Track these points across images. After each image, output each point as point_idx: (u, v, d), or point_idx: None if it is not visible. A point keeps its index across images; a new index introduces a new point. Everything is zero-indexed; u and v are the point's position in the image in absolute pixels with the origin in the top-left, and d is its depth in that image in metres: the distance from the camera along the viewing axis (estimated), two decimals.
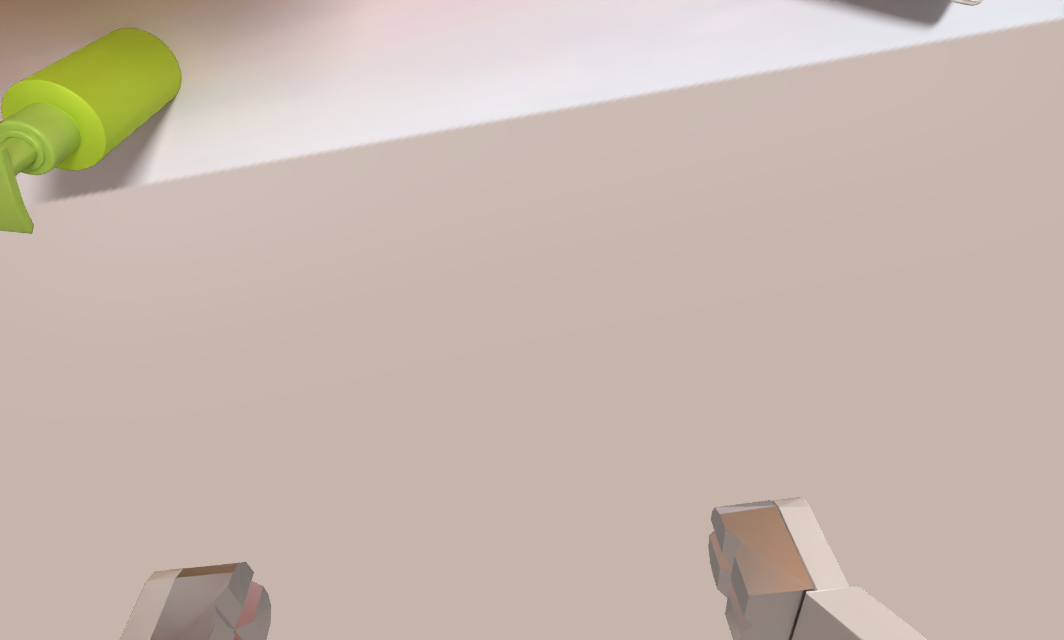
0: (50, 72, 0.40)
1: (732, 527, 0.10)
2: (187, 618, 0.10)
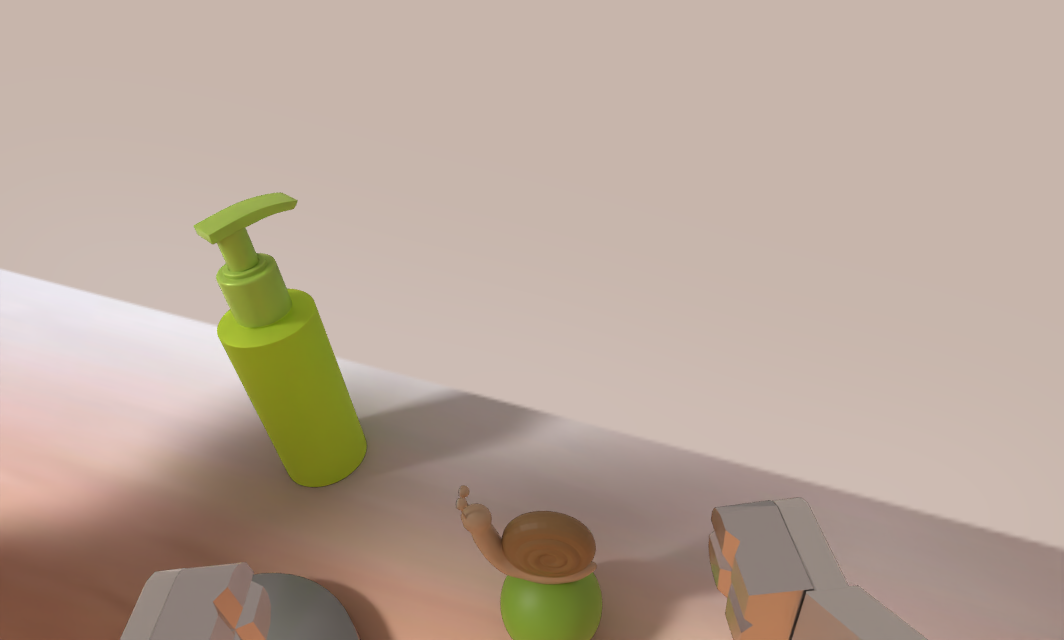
0: (234, 362, 0.39)
1: (732, 527, 0.10)
2: (187, 618, 0.10)
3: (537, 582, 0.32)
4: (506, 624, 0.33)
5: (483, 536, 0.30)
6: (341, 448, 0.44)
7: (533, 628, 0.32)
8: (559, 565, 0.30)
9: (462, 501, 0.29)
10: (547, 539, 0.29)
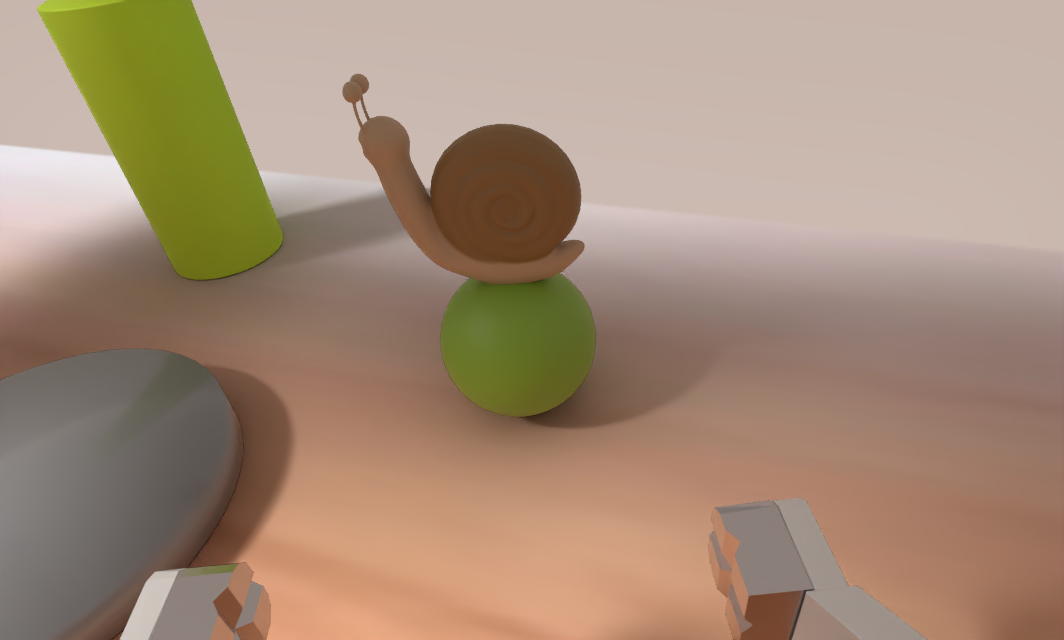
0: (62, 50, 0.27)
1: (732, 527, 0.10)
2: (187, 618, 0.10)
3: (492, 278, 0.20)
4: (447, 360, 0.21)
5: (396, 172, 0.18)
6: (239, 219, 0.32)
7: (487, 346, 0.20)
8: (523, 222, 0.19)
9: (353, 83, 0.17)
10: (499, 160, 0.18)
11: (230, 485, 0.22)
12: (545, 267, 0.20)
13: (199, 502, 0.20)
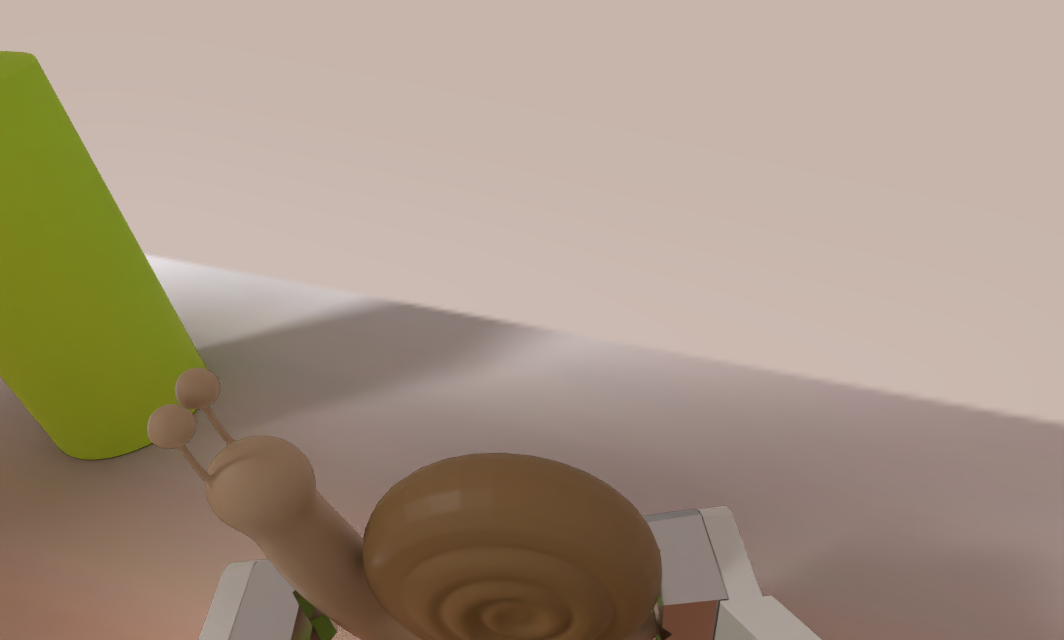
0: None
1: (654, 536, 0.10)
2: (268, 609, 0.10)
3: None
4: None
5: (288, 545, 0.09)
6: (136, 382, 0.23)
7: None
8: (547, 633, 0.09)
9: (169, 415, 0.08)
10: (498, 548, 0.08)
11: None
12: None
13: None
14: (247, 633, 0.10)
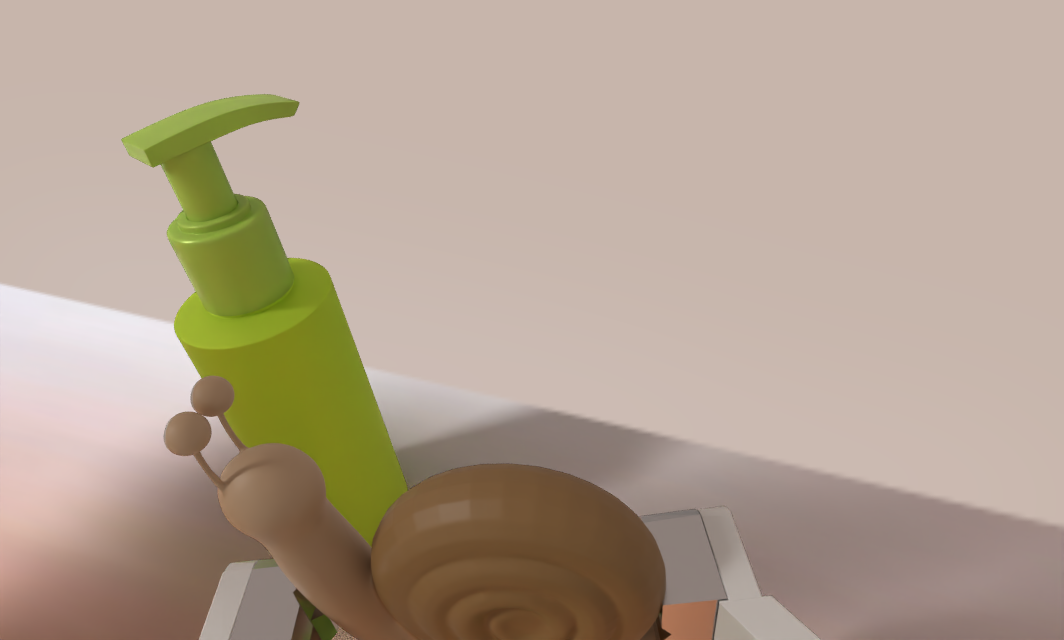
0: (202, 373, 0.24)
1: (654, 536, 0.10)
2: (268, 609, 0.10)
3: None
4: None
5: (298, 551, 0.09)
6: (374, 500, 0.29)
7: None
8: None
9: (186, 424, 0.08)
10: (506, 558, 0.08)
11: None
12: None
13: None
14: (248, 633, 0.10)
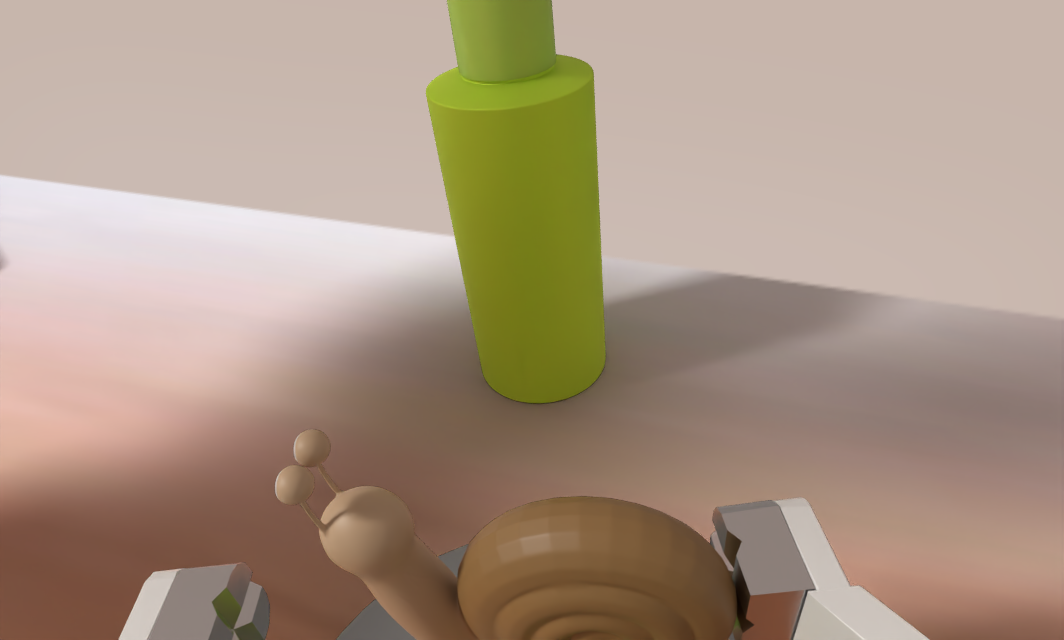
0: (461, 152, 0.22)
1: (733, 527, 0.10)
2: (186, 618, 0.10)
3: None
4: None
5: (393, 584, 0.10)
6: (592, 335, 0.27)
7: None
8: None
9: (293, 477, 0.09)
10: (586, 586, 0.09)
11: None
12: None
13: None
14: None
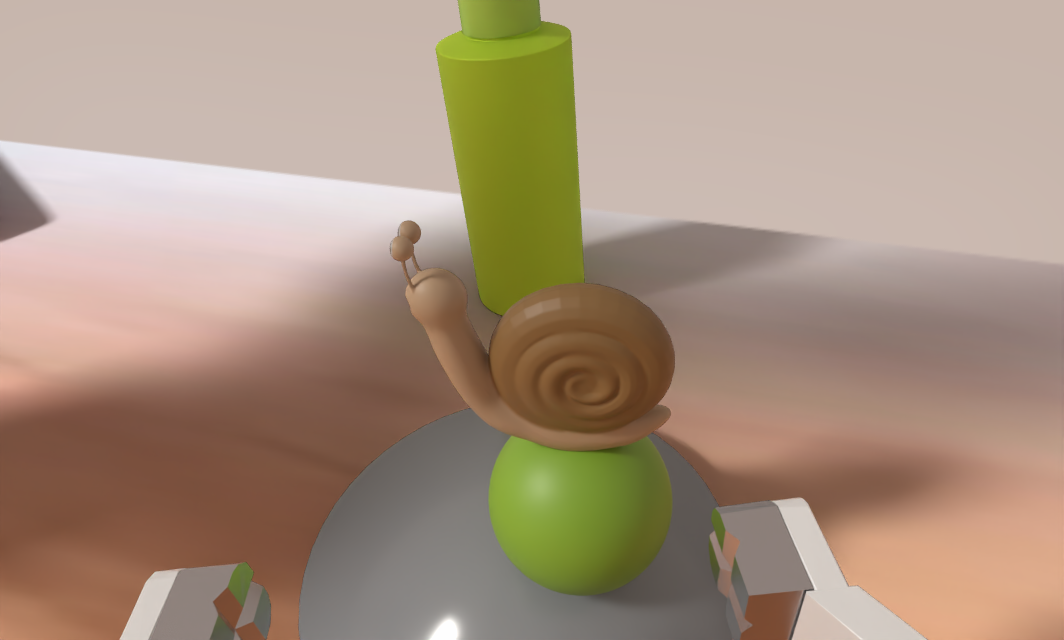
0: (464, 96, 0.27)
1: (732, 527, 0.10)
2: (187, 618, 0.10)
3: (556, 446, 0.17)
4: (498, 530, 0.18)
5: (451, 335, 0.15)
6: (571, 260, 0.32)
7: (549, 531, 0.17)
8: (603, 397, 0.15)
9: (404, 240, 0.14)
10: (581, 332, 0.14)
11: None
12: (622, 437, 0.17)
13: None
14: None
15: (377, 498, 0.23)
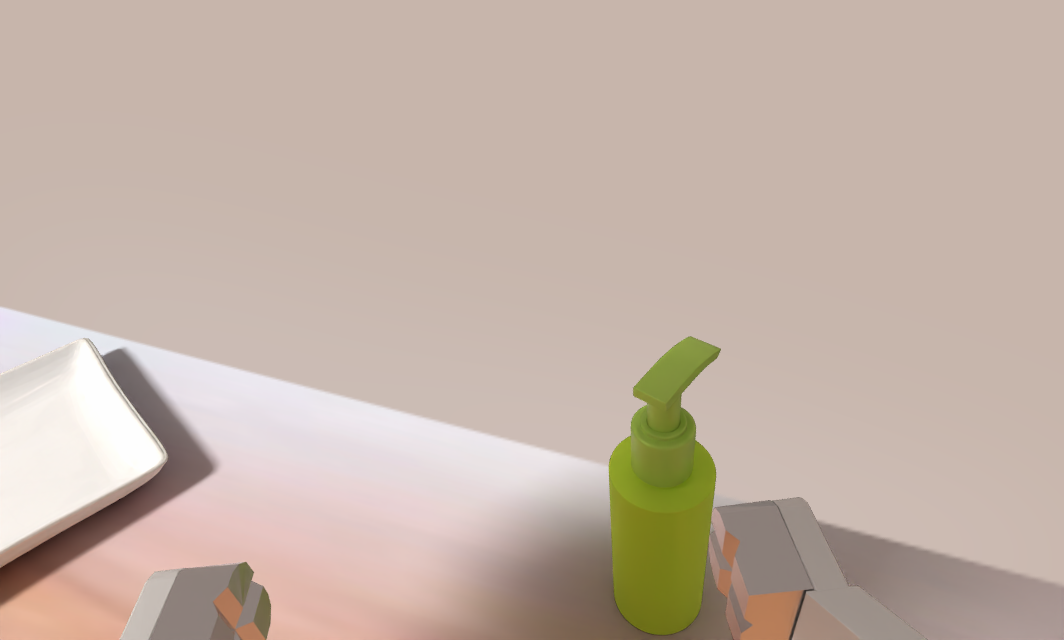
0: (635, 522, 0.35)
1: (732, 527, 0.10)
2: (187, 618, 0.10)
3: None
4: None
5: None
6: (699, 595, 0.40)
7: None
8: None
9: None
10: None
11: None
12: None
13: None
14: None
15: None
